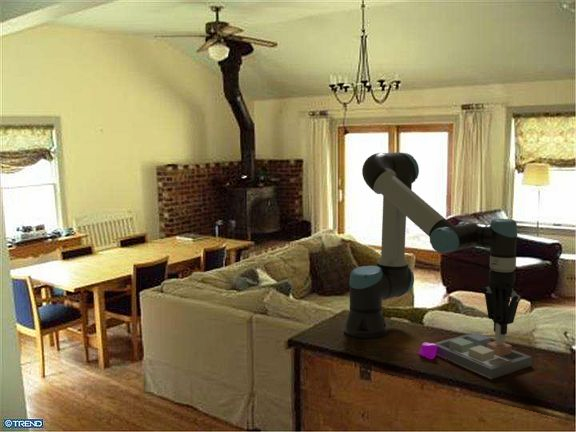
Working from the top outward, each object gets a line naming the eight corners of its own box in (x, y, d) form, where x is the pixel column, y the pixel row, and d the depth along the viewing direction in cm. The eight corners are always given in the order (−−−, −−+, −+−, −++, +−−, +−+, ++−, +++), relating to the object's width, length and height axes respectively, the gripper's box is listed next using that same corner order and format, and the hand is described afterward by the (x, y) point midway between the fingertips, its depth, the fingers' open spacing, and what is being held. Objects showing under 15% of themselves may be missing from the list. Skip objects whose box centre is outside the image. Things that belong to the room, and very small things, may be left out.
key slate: (466, 343, 178) (466, 335, 177) (477, 340, 180) (477, 333, 180) (479, 348, 173) (479, 340, 173) (490, 345, 176) (490, 337, 176)
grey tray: (431, 352, 178) (431, 343, 177) (469, 341, 187) (470, 333, 186) (491, 379, 157) (491, 369, 157) (531, 366, 166) (531, 356, 165)
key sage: (449, 347, 174) (449, 340, 174) (460, 344, 176) (460, 337, 176) (461, 353, 169) (461, 345, 169) (473, 350, 172) (473, 342, 172)
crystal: (434, 353, 177) (434, 339, 176) (438, 359, 172) (438, 345, 171) (418, 353, 177) (418, 339, 177) (422, 360, 172) (422, 346, 171)
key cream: (468, 356, 167) (468, 348, 167) (480, 352, 170) (480, 345, 169) (482, 362, 162) (482, 354, 162) (494, 358, 165) (494, 350, 165)
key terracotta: (486, 351, 171) (486, 343, 171) (497, 347, 173) (497, 340, 173) (500, 356, 166) (500, 348, 166) (511, 353, 169) (511, 345, 169)
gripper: (476, 267, 170) (474, 339, 173) (512, 275, 159) (509, 352, 162) (493, 264, 174) (490, 335, 177) (529, 271, 163) (525, 347, 166)
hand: (499, 343), depth 169 cm, fingers closed
